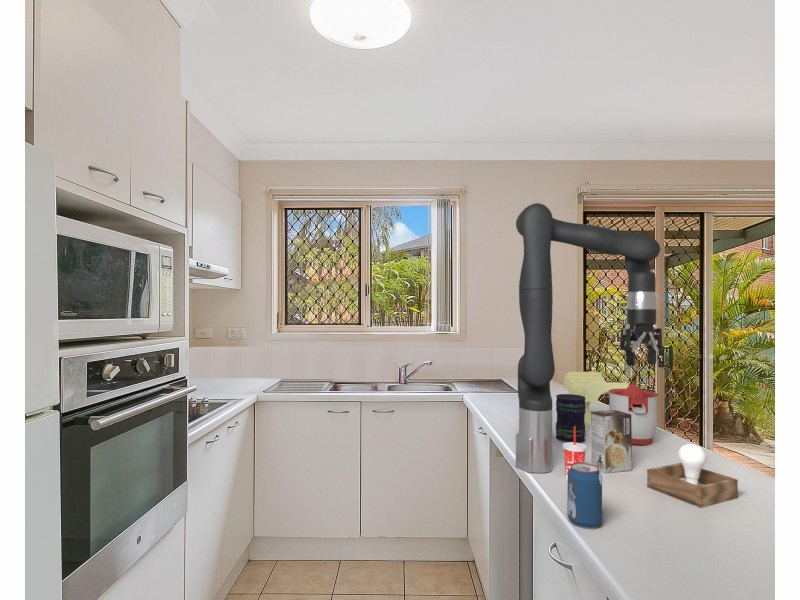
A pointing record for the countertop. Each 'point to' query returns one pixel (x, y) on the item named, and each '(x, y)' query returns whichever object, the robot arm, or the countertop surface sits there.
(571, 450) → the beverage cup
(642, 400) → the citrus juicer
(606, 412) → the coffee box
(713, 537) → the countertop surface
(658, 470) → the parts box
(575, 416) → the storage jar
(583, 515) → the soda can
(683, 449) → the lightbulb
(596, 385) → the hair dryer
